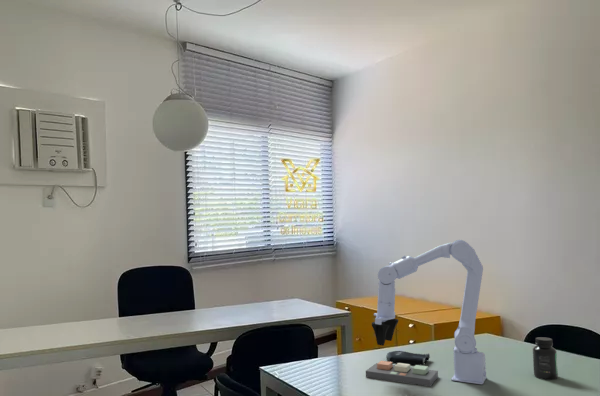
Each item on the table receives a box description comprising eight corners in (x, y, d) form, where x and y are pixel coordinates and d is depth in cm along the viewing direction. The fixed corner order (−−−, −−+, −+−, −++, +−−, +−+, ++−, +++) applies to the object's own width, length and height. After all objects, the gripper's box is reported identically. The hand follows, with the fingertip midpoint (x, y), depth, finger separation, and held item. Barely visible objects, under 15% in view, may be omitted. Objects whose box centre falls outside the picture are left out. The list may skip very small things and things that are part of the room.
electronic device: (430, 364, 174) (390, 354, 181) (431, 350, 174) (391, 340, 181) (423, 375, 166) (382, 364, 173) (425, 360, 165) (383, 349, 172)
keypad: (438, 377, 154) (437, 370, 154) (430, 386, 146) (429, 379, 146) (376, 368, 165) (376, 362, 165) (365, 377, 156) (365, 370, 156)
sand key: (410, 369, 157) (410, 364, 157) (406, 372, 153) (406, 367, 153) (398, 367, 159) (398, 362, 159) (394, 370, 155) (394, 365, 155)
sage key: (428, 371, 154) (428, 366, 154) (425, 375, 150) (424, 369, 150) (416, 369, 156) (416, 364, 156) (412, 373, 152) (412, 368, 152)
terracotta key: (392, 366, 160) (392, 362, 160) (388, 370, 156) (388, 365, 156) (381, 365, 162) (381, 360, 162) (377, 368, 158) (377, 363, 158)
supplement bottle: (563, 378, 150) (560, 339, 151) (546, 381, 148) (544, 342, 149) (545, 372, 157) (543, 335, 157) (529, 375, 154) (527, 337, 155)
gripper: (382, 297, 169) (380, 336, 168) (367, 303, 156) (365, 345, 155) (401, 300, 165) (400, 339, 164) (387, 306, 152) (385, 348, 152)
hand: (384, 342), depth 160 cm, fingers open, 7 cm apart
